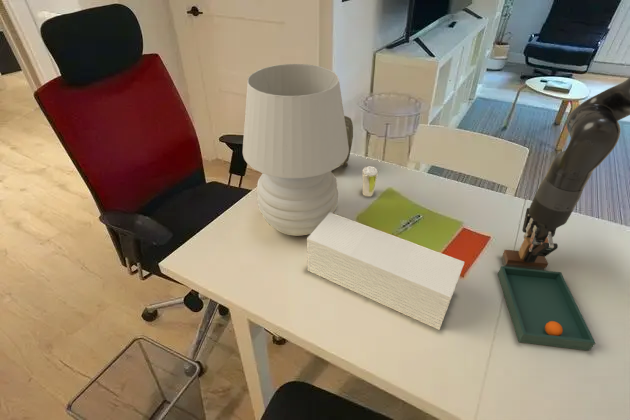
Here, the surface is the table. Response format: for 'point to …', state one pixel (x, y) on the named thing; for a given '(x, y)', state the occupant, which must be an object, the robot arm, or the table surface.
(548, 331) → the ball
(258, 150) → the table lamp
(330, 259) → the stack of papers
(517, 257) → the brush
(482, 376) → the table surface
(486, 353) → the table surface
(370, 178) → the milkshake
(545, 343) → the tray
